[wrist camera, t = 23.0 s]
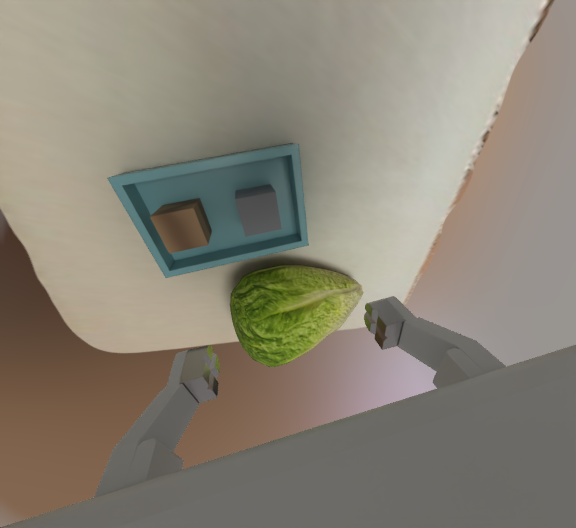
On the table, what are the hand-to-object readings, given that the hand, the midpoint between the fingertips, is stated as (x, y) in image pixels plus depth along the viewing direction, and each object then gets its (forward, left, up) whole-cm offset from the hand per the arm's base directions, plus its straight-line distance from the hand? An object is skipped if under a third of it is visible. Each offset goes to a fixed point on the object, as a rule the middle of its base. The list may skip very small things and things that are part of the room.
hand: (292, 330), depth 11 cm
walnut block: (+10, 0, -24) cm, 26 cm away
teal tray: (+5, 0, -25) cm, 25 cm away
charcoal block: (0, 0, -24) cm, 24 cm away
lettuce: (-4, +18, -25) cm, 31 cm away
